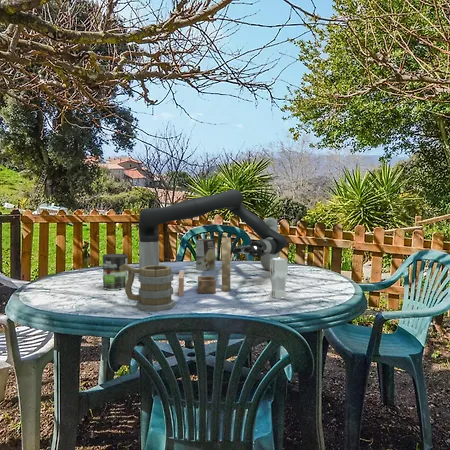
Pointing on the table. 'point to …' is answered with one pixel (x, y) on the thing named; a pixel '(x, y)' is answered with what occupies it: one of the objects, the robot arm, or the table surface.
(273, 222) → the grey water bottle
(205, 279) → the cradle
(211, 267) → the coffee box
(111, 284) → the coffee can
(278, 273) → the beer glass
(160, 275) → the tankard
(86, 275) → the table surface
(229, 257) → the dowel
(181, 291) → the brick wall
